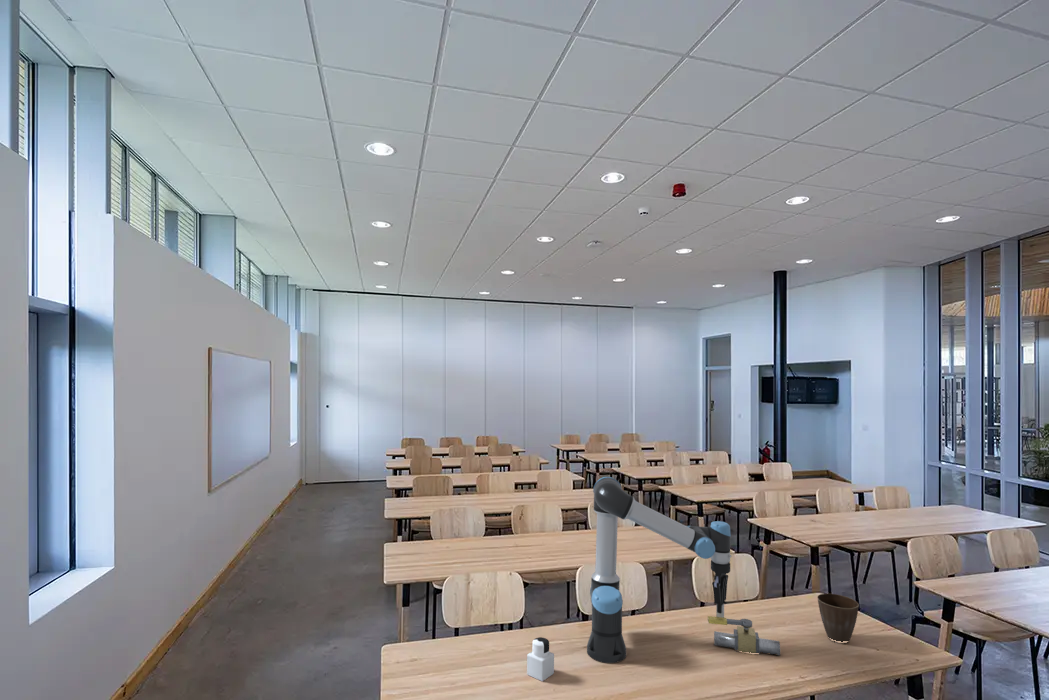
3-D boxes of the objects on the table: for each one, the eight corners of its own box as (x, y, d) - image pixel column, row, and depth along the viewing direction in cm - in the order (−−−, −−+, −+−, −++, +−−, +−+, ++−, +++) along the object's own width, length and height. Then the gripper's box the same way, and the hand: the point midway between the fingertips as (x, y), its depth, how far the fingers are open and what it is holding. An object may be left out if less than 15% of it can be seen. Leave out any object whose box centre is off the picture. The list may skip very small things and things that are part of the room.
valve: (714, 648, 216) (714, 624, 217) (714, 640, 223) (714, 617, 223) (780, 659, 209) (780, 634, 209) (778, 650, 215) (778, 627, 216)
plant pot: (859, 652, 215) (858, 611, 216) (816, 642, 223) (816, 602, 224) (859, 637, 228) (858, 598, 229) (818, 628, 236) (818, 590, 236)
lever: (750, 623, 218) (750, 619, 218) (753, 628, 214) (753, 624, 214) (707, 619, 221) (707, 615, 221) (709, 624, 217) (709, 620, 217)
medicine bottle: (538, 666, 200) (539, 633, 201) (554, 673, 196) (554, 639, 196) (526, 674, 195) (527, 640, 195) (542, 682, 190) (542, 646, 191)
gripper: (724, 567, 214) (724, 628, 213) (734, 559, 224) (734, 617, 223) (705, 563, 219) (705, 622, 218) (716, 555, 229) (716, 612, 228)
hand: (720, 620), depth 221 cm, fingers closed
